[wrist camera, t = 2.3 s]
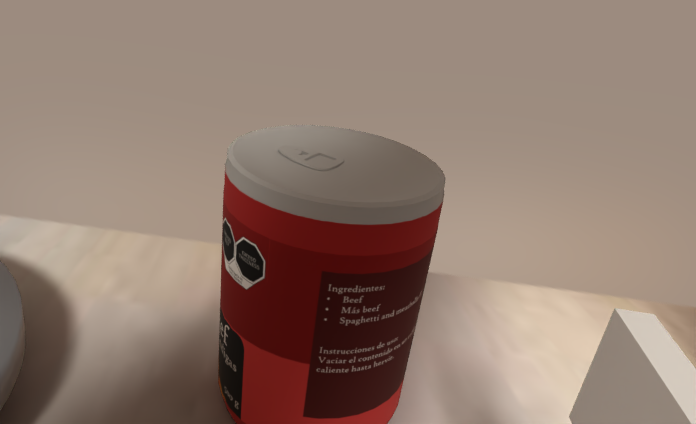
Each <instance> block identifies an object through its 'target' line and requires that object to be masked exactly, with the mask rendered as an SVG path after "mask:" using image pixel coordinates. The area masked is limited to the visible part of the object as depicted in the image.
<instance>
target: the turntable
mask: <svg viewBox="0 0 696 424" xmlns="http://www.w3.org/2000/svg"><path fill="white" fill-rule="evenodd" d="M25 347H26V336H25V322H24V316H23V309H22V302H21V296H20V293H19V290H18V287H17V284H16V281H15V279H14V277H13V276H12V274H11V273H10V272H9V270H8V269H7V267H6V266H5V265H4V264H3V263H2V262H1V261H0V411H1V409H2V407H3V406H4V404H5V402H6V400H7V399H8V397H9V395H10V394H11V392H12V390H13V388H14V385H15V383H16V380H17V378H18V375H19V372H20V370H21V367H22V364H23V358H24V352H25Z"/></svg>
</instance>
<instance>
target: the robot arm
mask: <svg viewBox="0 0 696 424" xmlns="http://www.w3.org/2000/svg"><path fill="white" fill-rule="evenodd" d="M569 417H570V420H571V422H572V424H696V368H695V367H694V366H693V364H692V363H691V362H690V361H689V359H688V358H687V357H686V355H685V354H684V353H683V351H682V350H681V349H680V347H679V346H678V345H677V343H676V342H675V341H674V340H673V338H672V337H671V336H670V334H669V333H668V332H667V330H666V329H665V328H664V326H663V325H662V324H661V322H660V321H659V320H658V319H657V317H656V316H655V315H654V314H649V313H643V312H637V311H630V310H624V309H617V308H615V309H614V311H613V313H612V316H611V318H610V321H609V323H608V325H607V328H606V330H605V332H604V335H603V337H602V340H601V342H600V344H599V347H598V349H597V351H596V354H595V356H594V359H593V361H592V363H591V366H590V368H589V370H588V373H587V375H586V378H585V380H584V382H583V385H582V387H581V389H580V392H579V394H578V396H577V399H576V401H575V404H574V406H573V408H572V411H571V413H570V415H569Z"/></svg>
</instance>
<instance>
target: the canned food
mask: <svg viewBox="0 0 696 424" xmlns="http://www.w3.org/2000/svg"><path fill="white" fill-rule="evenodd" d="M227 155H228V156H227V160H226V164H225V185H224V198H223V199H224V200H223V232H222V265H221V299H220V333H219V367H218V383H219V386H220V390H221V393H222V396H223V399H224V402H225V404H226V407H227V409H228V411H229V413H230V414H231V416H232V418H233V420H234V421H235V422H236V423H237V424H387V423H388V422H389V420H390V419H391V417H392V416H393V414H394V412H395V410H396V408H397V406H398V402H399V398H400V393H401V389H402V384H403V380H404V375H405V371H406V367H407V362H408V358H409V353H410V349H411V344H412V340H413V336H414V331H415V327H416V322H417V318H418V313H419V309H420V305H421V300H422V296H423V291H424V287H425V283H426V278H427V274H428V269H429V265H430V260H431V256H432V251H433V247H434V243H435V238H436V234H437V229H438V222H439V217H440V213H441V208H442V203H443V197H444V184H445V176H444V174H443V171H442V170H441V169H440V168H439V167H438V165H437V164H436V163H435V162H433V161H432V160H431V159H429V158H428V157H427V156H425V155H423V154H421V153H420V152H418V151H416V150H414V149H412V148H410V147H408V146H406V145H403V144H401V143H399V142H396V141H393V140H390V139H387V138H384V137H381V136H377V135H373V134H369V133H366V132H361V131H355V130H350V129H344V128H336V127H328V126H315V125H290V126H277V127H270V128H265V129H261V130H257V131H253V132H249V133H247V134H245V135H243V136H240V137H238V138H237V139H236V140H234V141H233V142H232V143H231V144H230V146H229V148H228V153H227Z"/></svg>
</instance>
